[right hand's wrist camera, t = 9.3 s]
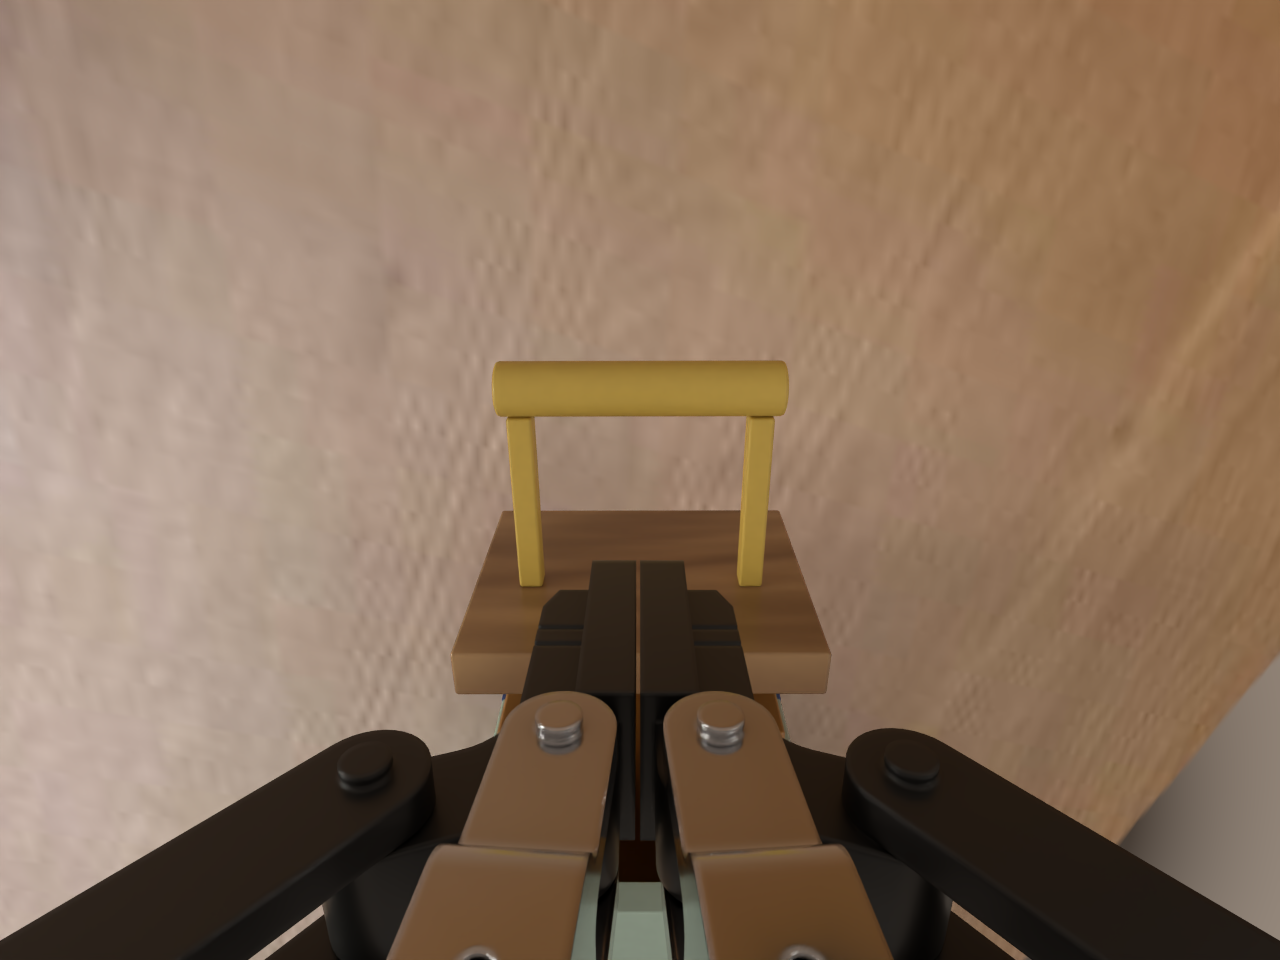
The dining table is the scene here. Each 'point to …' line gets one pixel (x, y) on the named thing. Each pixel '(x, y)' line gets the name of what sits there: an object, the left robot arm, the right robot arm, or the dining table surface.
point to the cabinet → (641, 909)
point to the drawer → (642, 537)
